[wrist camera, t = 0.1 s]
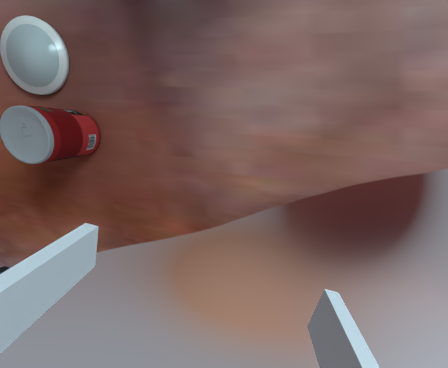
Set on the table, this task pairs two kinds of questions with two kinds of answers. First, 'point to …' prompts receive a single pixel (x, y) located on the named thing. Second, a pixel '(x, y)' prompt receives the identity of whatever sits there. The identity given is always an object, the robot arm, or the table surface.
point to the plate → (34, 55)
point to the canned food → (48, 133)
